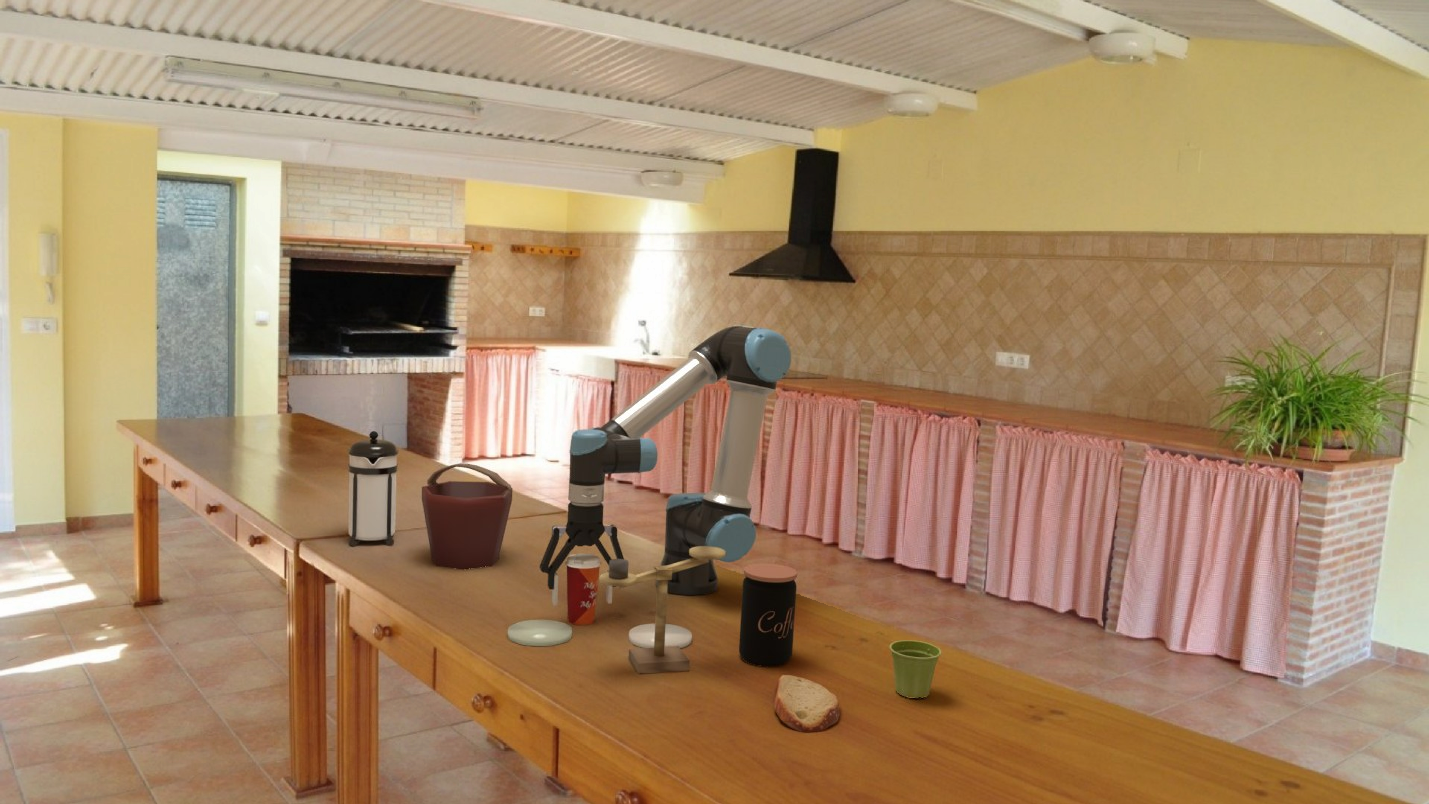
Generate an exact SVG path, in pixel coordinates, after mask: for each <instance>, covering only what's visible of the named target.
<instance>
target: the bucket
mask: <svg viewBox="0 0 1429 804" xmlns="http://www.w3.org/2000/svg"><path fill="white" fill-rule="evenodd" d="M453 468H466V469H470V470H473V471H474V472H478V473H480V474H483V475H484V476H486V477H488V478H489V479H490V480H491V481H492V482H490V481H464V480H463V481H457V480H456V481H455V480H453V481H451V480H449V481H444V482H437V481H438V479H439V478H440V477H441V475H443V473H445V472H447V471H449V470H451V469H453ZM426 483H427V485H425V486H422V487H421V503H422V508H423V514H424V520H425V526H426V532H427V537H428V543H429V550H430V555H431V559H432V561H433V563H434V564H435V566H436V567H441V568H446V569H454V568H456V569H455V570H461V569H462V571H463V570H464V569H466V570H472V569H471V568H474V569H481V568H480V567H482V568H488V567H487V566H490V567H492V566H494V565H495V564H496V563H497V561H498V560H499V559H500V556H501V555H500V554H501V550H502V546H503V543H504V542H503V541H504V537H505V533H506V528H507V524H508V518H509V515H510V511H511V506H512V501H513V487H512V484H510V483H509V482H507V481H506V480H505V479H503V478H502V477H501V476H500V475H499V473H497V472H495V471H493V470H490V469H487V468H485V467H482V466H480V465H475V464H471V463H463V462H462V463H461V462H460V463H455V464H451V465H448V466H444V467H442V468H440V469H437V470H436V471H434V472H432V474H431V475H430V476H429V478H428V479H427V481H426ZM497 559H498V560H497ZM485 566H486V567H485ZM469 568H470V569H469ZM464 571H465V570H464Z"/></svg>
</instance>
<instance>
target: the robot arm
mask: <svg viewBox="0 0 1429 804" xmlns="http://www.w3.org/2000/svg"><path fill="white" fill-rule="evenodd" d="M787 342H788V341H786V339H785V337H784V336H783V335H781V334H780V333H779V332H777V331H775V330H772V329H768V328H762V327H750V326H749V327H747V326H741V325H736V326H735V325H733V326H729V327H725V328H723V329H721V330H719V331H717V332H715V333H714V334H712V335H710V336H709V337H708V338H706V339H705V340H704V341H702V342H701V343H699V344H698V345H697V346H695V348H693V349H691V350H690V351H689V353H688V357H687V359H686V360H685V361H683V362H682V363H681V364H679V365H678V366H677V367H676V368H674V369H673V370H672V371H671V372H669V373H668V374H667V375H665V377H663V378H662V379H661V380H659V381H658V382H657V383H655V384H654V385H653V386H651V387H650V388H649V389H648V390H646V392H644V393H643V394H642V395H641V396H638V398H637V399H635V400H634V401H633V402H632V403H630V404H629V405H628V406H626V407H625V408H624V409H622V410H621V411H620V412H619V413H618V414H616V415H615V416H613V418H612V419H610V420H609V421H607V422H606V423H604V424H603V425H602V426H601V427H599V426H597V427H590V428H588V429H587V428H586V429H585V428H584V429H577V430H575V431H574V432H572V434H571V437H570V438H571V439H570V444H569V445H570V447H569V478H568V479H569V481H568V500H569V503H567V521H566V525H565V526H557V525H553V526H551V537H550V539H549V542H548V544H547V546H546V549H545V552H544V554H543V557H542V559H541V561H540V564H539V570H540V571H541V572H542V573H545V574H547V587H548V588H547V589H548V590H551V603H552V605H553V606H555V607H556V606H558V598H559V597H558V596H559V573H558V572H557V571H558V570H559V568H560V567H561V566H562V564H563V563H564V561H565V560H567V558H568V556H569V554H570V552H571V551H572V550H574V548H575V547H583V546H587V547H593V546H594V545H595V547H596V548H597V550H598V551H599V553H600V554H601V556H602V558H603V559H604V561H605V562H606V564H607V565H608V566H609V561H610V560H612V559H613V558H612V557H611V556H610V555H609V553H608V551H607V549H606V548H605V546H604V545H603V543H602V542H601V540H600V538H601V537H602V536H603V535H604V534H605V533H606V535H607V536H608V537H609V539H610V542H611V546H612V548H613V552H614V555H615V559H625V558H624V555H623V552H622V548H621V544H620V543H619V539H618V527H617V526H616V525H615V524H610V525H604V523H603V522H604V505H603V503H602V502H604V499H605V481H606V479H605V478H606V475H612V474H614V475H617V474H640V473H646V472H652V470H654V469H655V468H656V465H657V462H658V456H659V455H658V448H657V445H656V442H655V441H654V440H653V439H651V438H649V437H643V436H645V434H646V433H648V432H649V431H650V430H651V429H653V428H654V427H655V426H657V425H658V424H659V423H660V422H661V421H662V420H664V419H665V418H667V417H668V416H669V415H671V414H672V413H673V412H674V411H675V410H677V408H679V407H680V406H681V405H683V404H684V403H685V402H686V401H688V400H689V399H690V398H692V396H694V395H695V394H697V393H698V392H699V391H700V390H701V389H703V388H705V386H706V385H708V384H710V385H714V384H716V383H717V382H719V381H720V380H721V379H723V378H726V380H725V382H726V384H727V385H728V387H729V388H730V393H729V397H728V404H727V408H726V413H725V418H724V423H723V428H722V433H721V438H720V444H719V447H718V452H717V457H716V463H715V468H714V472H713V477H712V478H713V479H712V483H711V488H710V490H709V492H707V493H706V492H683V493H674V494H671V495H669V497H668V498H667V501H666V502H667V503H666V508H665V513H666V514H665V534H664V535H665V536H664V554H663V557H662V560H661V562H660V565H659V566H667V565H671V564H674V563H677V562H681V561H684V560H687V559H691V558H694V557H692V556H690V555H689V550H690V548H693V547H698V546H710V547H717V548H721V549H723V550H725V551H726V552H725V557H724V558H721V559H714V560H715V561H721V562H725V563H734V562H736V561H739V560H741V559H743V557H744V556H746V555H747V554H749V552H750V551H751V550H752V548H753V547H754V544H755V540H756V538H757V529H756V526H755V525H754V521H753V520H752V518H750V517H751V513H752V509H753V505H752V504H751V502H750V500H749V499H748V495H749V489H750V485H751V481H752V475H753V470H754V465H755V460H756V455H757V449H758V445H759V444H758V443H759V439H760V435H761V429H762V425H763V420H764V415H765V411H766V405H767V400H768V397H769V396H770V395H772V394H773V393H775V392H776V388H777V384H778V382H779V381H781V380H782V379H783V378H784V377H785V376H786V375H787V374H788V372H789V370H790V368H791V364H792V352H791V349H790V345H789V343H787ZM564 534H567V536H568V538H567V539H566V541H565V543H564V545H563V546H562V548H561V549H560V551H559V552H558V554H557V555H556V556H555V558H554V559H553V561H552V562H551V560H552V558H553V555H554V553H555V551H556V548H557V546H558V543H559V541H560V538H562V537H563V535H564ZM714 560H709V562H708V563H704V564H701V565H698V566H694V567H691V568H688V569H684V570H681V571H678V572H674V573H672V580H668V587H667V593H668V594H669V593H670V594H675V595H684V596H691V595H692V596H698V595H706V594H711V593H713V592H715V591H716V590H718V583H719V579H718V574H717V571H716V567H715V563H714ZM607 572H609V570H607V571H606V573H607ZM655 586H656V588H657V579H656V578H655ZM616 587H617V586H609V585H606V589H605V600H606V602H607V604H612V601H613V588H616Z"/></svg>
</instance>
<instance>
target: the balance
mask: <svg viewBox="0 0 1429 804" xmlns="http://www.w3.org/2000/svg"><path fill="white" fill-rule="evenodd" d="M725 552H726V551H725V550H723V549H721V548H717V547H710V546H698V547H693V548H690V550H689V555H690V556H692V557H694V558H691V559H687V560H684V561H681V562H677V563H674V564H671V565H667V566H660V565H653V566H654V567H653V569H652V570H646V571H644V572H641V573H638V574H633V573H632V572H631V573H630V572H629V563H630V562H629V560H627V559H625V558H624V559H617V558H611V559H612V560H610V561H609V565H608V571H609V572H607V571H606V572H604V573H602V574H600V575H599V583H600V584H603V585H609V586H616V587H618V589H620V590H621V589H623V588H627V587H631V586H633V585H637V584H641V583H644V582H648V581H650V580H654V579H655V580H656V579H657V587H656V601H655V603H656V604H655V623H654V624H655V639H654V648H642V647H638V648H628V661H629V662H630V663H631V665H632V667H633V668H634V669H635V671H636V673H637V674H638V675H639V674H640V673H643V674H656V673H670V672H671V673H672V672H689V671H690V659H689V658H688V657H687V655H686V654H685V653H684V651H683V650H682V648H679V646H672V647H664V646H665V627H666V624H667V623H666V622H667V607H668V605H667V604H668V601H667V600H668V592H667V587H668V580H672V573H674V572H678V571H681V570H684V569H688V568H691V567H694V566H698V565H701V564H704V563H708V562H709V560H713V561H714V560H715V559H721V558H724V557H725ZM640 675H641V674H640Z"/></svg>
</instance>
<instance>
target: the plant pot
mask: <svg viewBox="0 0 1429 804" xmlns="http://www.w3.org/2000/svg"><path fill="white" fill-rule="evenodd" d="M889 650H890V651H891V657H892V659H893V673H894V686H895V687H894V688H895V692H896V691H897V692H896V693H897V694H898V693H899V694H901V695H903V696H908V697H915V698H916V699H920V698H919V697H924V696H928V695H929V696H930V691H931V688H932V682H933V678H934V674H935V669H936V666H937V665H936V664H937V663H938V661H939V657H941V655H942V650H941V649H940V647H938V646H936V645H935V644H932V643H929V642H925V641H920V640H913V639H910V640H909V639H907V640H906V639H904V640H897V641H893V642H892V643H890V645H889ZM899 694H898V695H899ZM929 696H928V697H929Z"/></svg>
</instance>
